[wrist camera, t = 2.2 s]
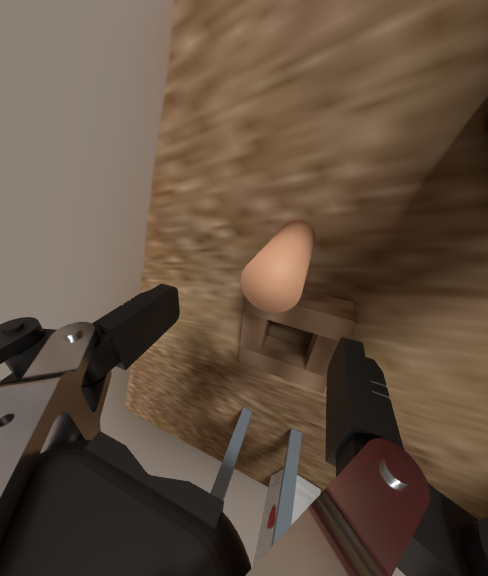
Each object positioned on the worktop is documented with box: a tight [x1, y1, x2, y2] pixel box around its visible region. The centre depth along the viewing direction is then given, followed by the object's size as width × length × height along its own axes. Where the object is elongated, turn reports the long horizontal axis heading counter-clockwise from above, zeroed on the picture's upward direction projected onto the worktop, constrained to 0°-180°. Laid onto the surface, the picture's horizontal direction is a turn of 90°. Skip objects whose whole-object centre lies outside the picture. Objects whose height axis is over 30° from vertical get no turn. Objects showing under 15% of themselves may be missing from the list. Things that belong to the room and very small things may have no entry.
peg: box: [241, 220, 315, 313], centre depth 18 cm, size 4×4×12 cm
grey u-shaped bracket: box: [210, 407, 302, 547], centre depth 27 cm, size 12×17×24 cm
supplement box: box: [253, 469, 320, 567], centre depth 43 cm, size 9×9×15 cm
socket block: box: [238, 289, 357, 393], centre depth 27 cm, size 12×12×4 cm
